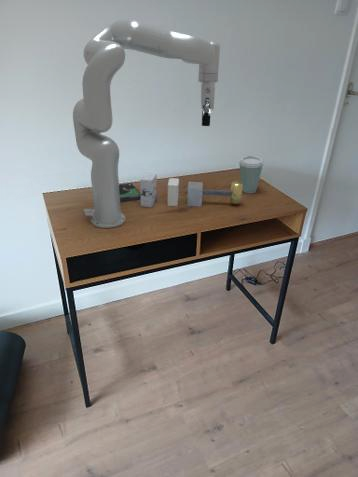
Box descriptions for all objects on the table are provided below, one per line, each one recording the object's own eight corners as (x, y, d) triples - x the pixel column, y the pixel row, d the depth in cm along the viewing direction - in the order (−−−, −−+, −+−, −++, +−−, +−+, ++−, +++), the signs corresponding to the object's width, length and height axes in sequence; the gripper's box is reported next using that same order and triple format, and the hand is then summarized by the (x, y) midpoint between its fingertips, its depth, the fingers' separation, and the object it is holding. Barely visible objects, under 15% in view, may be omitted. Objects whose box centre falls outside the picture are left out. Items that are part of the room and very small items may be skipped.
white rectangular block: (167, 205, 151) (167, 185, 146) (169, 198, 157) (169, 178, 153) (177, 206, 150) (177, 185, 146) (178, 198, 157) (178, 178, 153)
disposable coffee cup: (262, 195, 162) (266, 162, 154) (237, 195, 162) (241, 162, 154) (257, 186, 171) (261, 155, 164) (234, 186, 171) (237, 155, 164)
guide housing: (187, 206, 151) (187, 187, 147) (187, 199, 157) (188, 181, 153) (201, 206, 150) (202, 188, 146) (201, 199, 156) (202, 182, 152)
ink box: (146, 198, 157) (145, 172, 151) (157, 199, 156) (157, 173, 150) (140, 206, 149) (139, 179, 144) (152, 207, 149) (151, 180, 143)
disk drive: (109, 191, 164) (118, 203, 152) (109, 185, 163) (118, 197, 151) (132, 188, 168) (142, 200, 156) (131, 182, 167) (142, 194, 155)
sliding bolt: (184, 201, 151) (185, 183, 147) (185, 197, 155) (185, 179, 151) (241, 203, 150) (243, 185, 146) (240, 199, 154) (242, 181, 150)
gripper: (218, 80, 133) (215, 128, 141) (217, 75, 148) (214, 119, 156) (198, 79, 133) (196, 127, 142) (198, 75, 148) (196, 118, 157)
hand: (205, 123), depth 149 cm, fingers open, 9 cm apart
